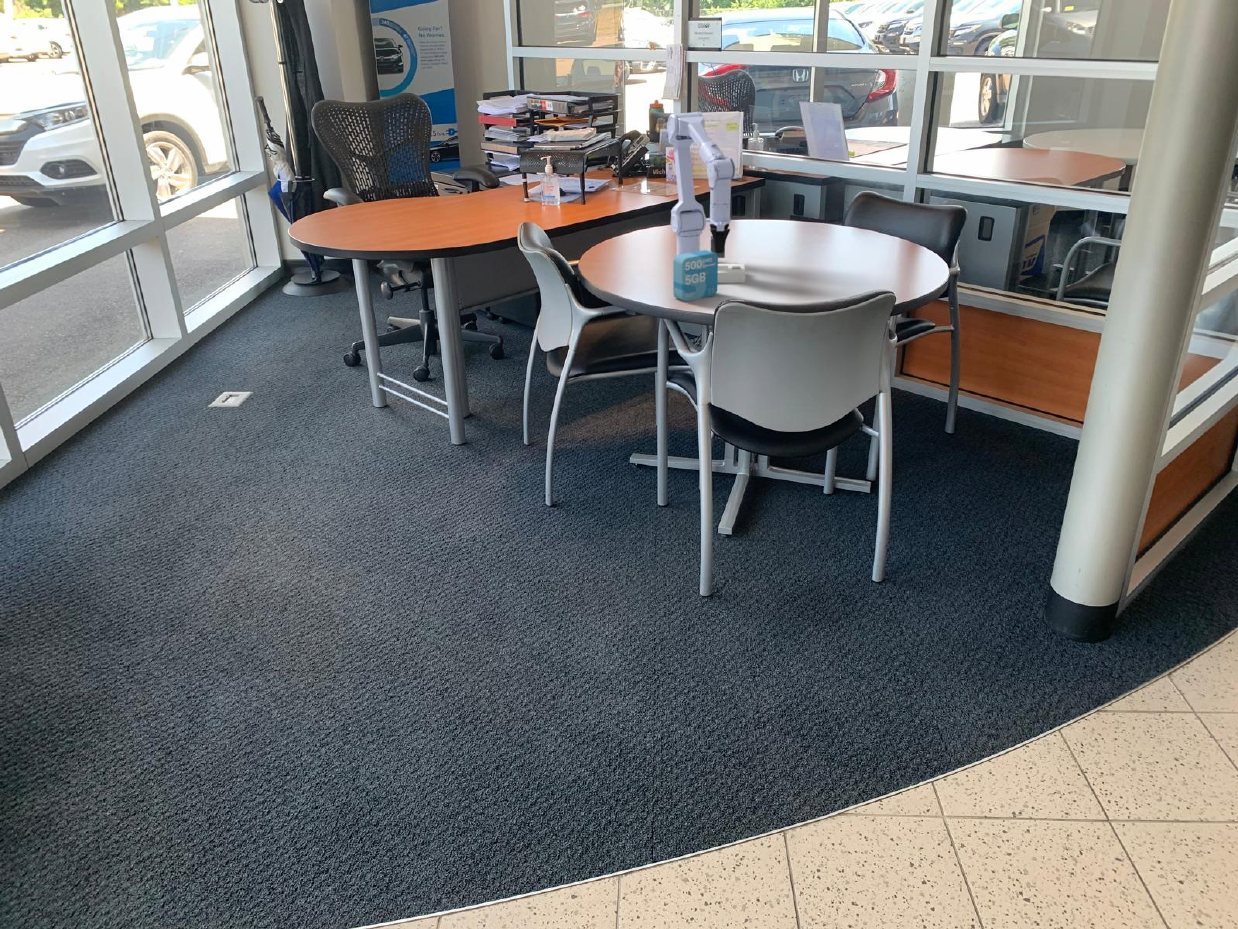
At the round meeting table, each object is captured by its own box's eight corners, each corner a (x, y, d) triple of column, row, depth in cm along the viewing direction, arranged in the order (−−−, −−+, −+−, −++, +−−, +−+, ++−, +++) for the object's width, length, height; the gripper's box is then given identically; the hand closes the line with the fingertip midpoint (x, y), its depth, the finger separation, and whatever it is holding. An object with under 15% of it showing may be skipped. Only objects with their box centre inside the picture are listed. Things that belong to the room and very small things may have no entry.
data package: (682, 302, 248) (682, 258, 242) (672, 298, 251) (672, 255, 246) (717, 295, 253) (718, 252, 248) (707, 291, 256) (708, 249, 251)
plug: (710, 254, 267) (710, 235, 265) (724, 254, 267) (724, 235, 265) (710, 257, 264) (711, 238, 261) (724, 257, 264) (725, 238, 261)
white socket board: (683, 273, 274) (683, 263, 272) (743, 273, 272) (743, 262, 271) (683, 283, 265) (683, 272, 263) (745, 282, 263) (745, 271, 262)
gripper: (705, 198, 265) (705, 245, 271) (706, 208, 252) (705, 257, 259) (729, 198, 265) (728, 244, 271) (732, 208, 252) (730, 256, 258)
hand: (719, 250), depth 265 cm, fingers closed on plug, 4 cm apart
